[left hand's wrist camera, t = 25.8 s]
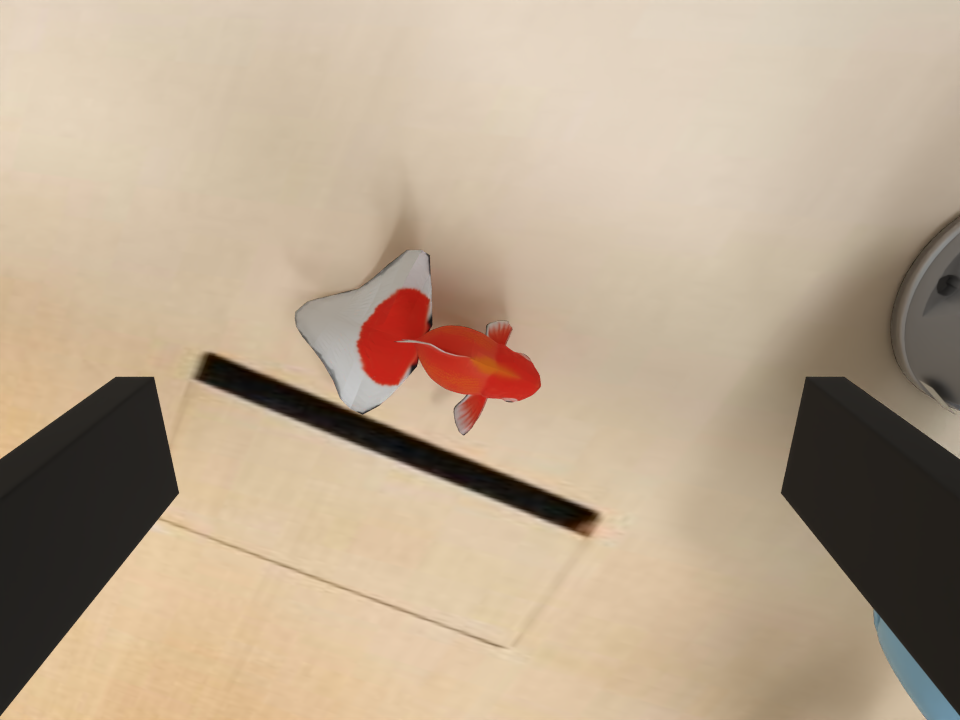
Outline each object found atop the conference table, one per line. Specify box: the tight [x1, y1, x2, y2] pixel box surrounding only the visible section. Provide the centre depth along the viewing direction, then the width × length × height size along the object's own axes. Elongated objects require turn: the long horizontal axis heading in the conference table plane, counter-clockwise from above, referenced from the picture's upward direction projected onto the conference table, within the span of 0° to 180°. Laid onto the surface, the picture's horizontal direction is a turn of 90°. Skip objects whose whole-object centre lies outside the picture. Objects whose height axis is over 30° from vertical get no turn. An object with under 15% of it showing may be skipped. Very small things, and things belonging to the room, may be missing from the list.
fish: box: [295, 250, 541, 435], centre depth 38 cm, size 11×16×10 cm
